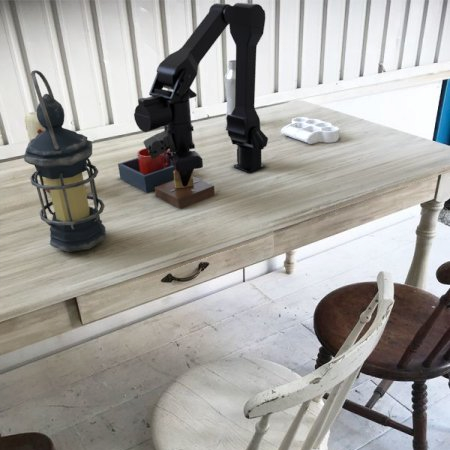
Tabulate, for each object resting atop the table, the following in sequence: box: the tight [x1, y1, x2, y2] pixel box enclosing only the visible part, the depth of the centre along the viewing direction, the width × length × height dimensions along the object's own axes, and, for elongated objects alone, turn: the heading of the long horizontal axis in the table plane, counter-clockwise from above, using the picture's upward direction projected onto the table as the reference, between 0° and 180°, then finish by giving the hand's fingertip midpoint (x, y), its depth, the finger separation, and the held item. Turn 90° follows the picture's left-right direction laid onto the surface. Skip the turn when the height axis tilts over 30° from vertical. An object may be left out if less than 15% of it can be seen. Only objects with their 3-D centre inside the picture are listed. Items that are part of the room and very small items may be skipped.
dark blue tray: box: [117, 154, 176, 193], centre depth 140 cm, size 13×15×4 cm
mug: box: [137, 147, 171, 175], centre depth 139 cm, size 9×7×6 cm
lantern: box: [23, 69, 107, 253], centre depth 103 cm, size 14×13×35 cm
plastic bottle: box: [223, 59, 236, 123], centre depth 169 cm, size 6×7×20 cm
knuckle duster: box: [280, 116, 340, 145], centre depth 162 cm, size 3×18×15 cm
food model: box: [24, 111, 50, 194], centre depth 130 cm, size 10×7×20 cm
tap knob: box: [173, 170, 194, 188], centre depth 128 cm, size 4×1×4 cm, turn 105°
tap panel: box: [154, 176, 216, 210], centre depth 130 cm, size 10×11×3 cm
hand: (184, 184), depth 129 cm, fingers closed on tap knob
